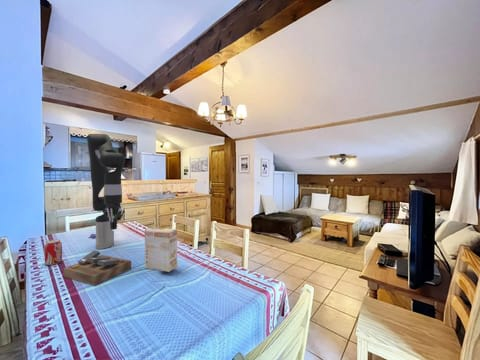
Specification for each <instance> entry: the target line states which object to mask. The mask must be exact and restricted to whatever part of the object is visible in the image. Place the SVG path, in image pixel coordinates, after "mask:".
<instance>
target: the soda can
mask: <svg viewBox="0 0 480 360" xmlns="http://www.w3.org/2000/svg"><path fill="white" fill-rule="evenodd" d="M43 248H44V250H43V253H44V254H43V256H44V265H47V266H54V265H57V264H59V263H60V262H62V261H63V244H62V242H61V240H60V239H52V240H48V241H45V245H44V247H43Z"/></svg>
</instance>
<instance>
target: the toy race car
mask: <svg viewBox="0 0 480 360" xmlns="http://www.w3.org/2000/svg"><path fill="white" fill-rule="evenodd" d="M88 239H92V240H95V239H96V233H91V234H90V235H89V236H88Z"/></svg>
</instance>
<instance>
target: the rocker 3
mask: <svg viewBox="0 0 480 360" xmlns="http://www.w3.org/2000/svg"><path fill="white" fill-rule="evenodd" d="M119 261H120V260H118V259H114V258H113V259H106V260H98V261H97V264H98V265H102V266H105V265H111V264H118V263H119Z"/></svg>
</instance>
